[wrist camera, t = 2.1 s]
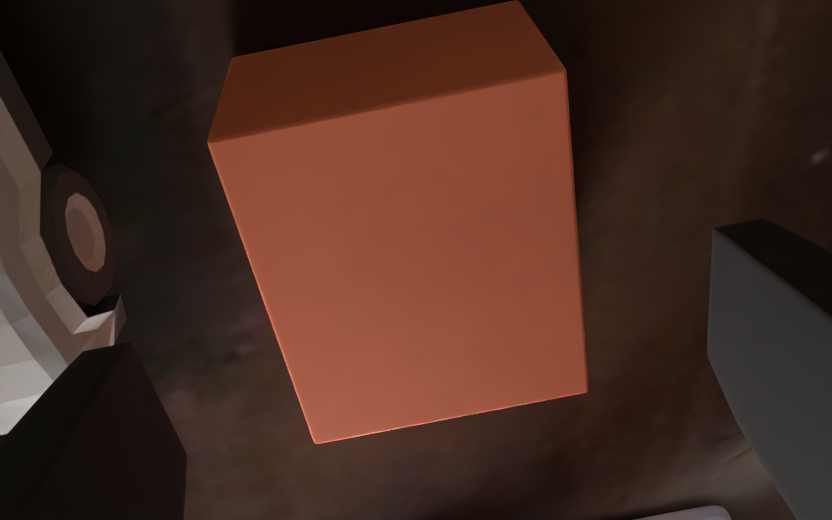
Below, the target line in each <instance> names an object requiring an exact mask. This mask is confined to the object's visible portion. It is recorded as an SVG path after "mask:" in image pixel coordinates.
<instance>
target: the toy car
mask: <svg viewBox="0 0 832 520" xmlns="http://www.w3.org/2000/svg"><path fill="white" fill-rule="evenodd" d="M52 154H53V151H52V149H51V147H50V145H49V143H48V141H47V139H46V138H45V136H44V134H43V132H42V130H41V128H40V126H39V124H38V122H37V120H36V118H35V116H34V114H33V112H32V110H31V109H30V107H29V105H28V103H27V101H26V99H25V97H24V95H23V93H22V91H21V89H20V87H19V85H18V83H17V82H16V80H15V78H14V76H13V74H12V72H11V70H10V68H9V66H8V64H7V62H6V60H5V58H4V56H3V54H2V53H1V51H0V435H4V434H8V433H9V431H10V430H11V429H12V428H13V427H14V426H15V425H16V424H17V422H18V421H19V420H20V419H21V418H22V417H23V416H24V415H25V413H26V412H27V411H28V410H29V409H30V408H31V407H32V405H33V404H34V403H35V402H36V401H37V400H38V399H39V398H40V396H41V395H42V394H43V393H44V392H45V391H46V390H47V389H48V387H49V386H50V385H51V384H52V383H53V382H54V381H55V380H56V379H57V378H58V376H59V375H60V374H61V373H62V372H63V371H64V370H65V369H66V368H67V367H68V366H69V365H70V364H71V363H72V362H73V361H74V360H75V359H76V358H77V357H78V356H79V355H80V354H81V353H82V352H83V351H87V350H92V349H97V348H102V347H107V346H112V345H114V343H115V341H116V339H117V337H118V335H119V333H120V331H121V329H122V327H123V325H124V323H125V321H126V319H127V318H126V314H125V310H124V306H123V302H122V298H121V294H119V295H114V296H110V297H105V298H103V297H104V296H105V295H106V293H107V292H108V291H109V289H110V287H111V286H112V284H113V280H114V273H115V266H116V253H115V246H114V238H113V231H112V228H111V225H110V222H109V220H108V217H107V214H106V211H105V209H104V206H103V203H102V201H101V199H100V198H99V196H98V195H97V193H96V192H95V190H94V189H93V187H92V186H91V184H90V183H89V181H88V180H87V179H86V178H85V177H83V176H81V175H80V174H78V173H76V172H74V171H73V170H71V169H69V168H67V167H66V166H64V165H62V164H60V163H55V164H51V165H46V163H47V162H48V160H49V159H50V157H51V156H52ZM45 165H46V166H45Z"/></svg>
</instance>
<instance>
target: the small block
mask: <svg viewBox="0 0 832 520" xmlns="http://www.w3.org/2000/svg"><path fill="white" fill-rule="evenodd" d="M207 144H208V147H209V149H210V152H211V155H212V158H213V161H214V163H215V166H216V169H217V172H218V175H219V177H220V180H221V183H222V186H223V189H224V191H225V194H226V197H227V200H228V203H229V205H230V208H231V211H232V214H233V217H234V219H235V222H236V225H237V228H238V231H239V233H240V236H241V239H242V242H243V245H244V248H245V250H246V253H247V256H248V259H249V262H250V264H251V267H252V270H253V273H254V276H255V278H256V281H257V284H258V287H259V290H260V292H261V295H262V298H263V301H264V304H265V306H266V309H267V312H268V315H269V318H270V320H271V323H272V326H273V329H274V332H275V335H276V337H277V340H278V343H279V346H280V349H281V351H282V354H283V357H284V360H285V363H286V365H287V368H288V371H289V374H290V377H291V379H292V382H293V385H294V388H295V391H296V393H297V396H298V399H299V402H300V405H301V407H302V410H303V413H304V416H305V419H306V421H307V424H308V427H309V430H310V433H311V436H312V438H313V441H314V443H315V444H320V443H325V442H330V441H336V440H341V439H346V438H351V437H357V436H362V435H367V434H372V433H377V432H383V431H388V430H393V429H398V428H404V427H409V426H414V425H419V424H424V423H430V422H435V421H440V420H445V419H451V418H456V417H461V416H466V415H471V414H477V413H482V412H487V411H492V410H498V409H503V408H508V407H513V406H518V405H524V404H529V403H534V402H539V401H545V400H550V399H555V398H560V397H565V396H571V395H576V394H581V393H586V392H588V389H589V385H588V371H587V357H586V342H585V328H584V314H583V299H582V285H581V271H580V256H579V242H578V228H577V213H576V199H575V185H574V171H573V156H572V142H571V128H570V113H569V99H568V85H567V71H566V69H565V67H564V66H563V64H562V63H561V62H560V60H559V59H558V57H557V56H556V54H555V53H554V51H553V50H552V48H551V47H550V46H549V44H548V43H547V41H546V40H545V38H544V37H543V35H542V34H541V33H540V31H539V30H538V28H537V27H536V25H535V24H534V22H533V21H532V20H531V18H530V17H529V15H528V14H527V12H526V11H525V9H524V8H523V7H522V5H521V4H520V2H519V1H518V0H513V1H509V2H504V3H499V4H494V5H489V6H484V7H479V8H474V9H469V10H464V11H459V12H454V13H449V14H444V15H440V16H435V17H430V18H425V19H420V20H415V21H410V22H405V23H400V24H395V25H390V26H385V27H380V28H376V29H371V30H366V31H361V32H356V33H351V34H346V35H341V36H336V37H331V38H326V39H321V40H316V41H311V42H307V43H302V44H297V45H292V46H287V47H282V48H277V49H272V50H267V51H262V52H257V53H252V54H247V55H242V56H238V57H233V58H232V59H231V62H230V65H229V68H228V72H227V75H226V79H225V82H224V85H223V89H222V92H221V96H220V99H219V102H218V106H217V109H216V113H215V116H214V119H213V123H212V126H211V129H210V133H209V136H208V140H207Z"/></svg>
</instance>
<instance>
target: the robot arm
mask: <svg viewBox="0 0 832 520" xmlns="http://www.w3.org/2000/svg"><path fill="white" fill-rule="evenodd" d="M707 356H708V359H709V361H710V363H711V365H712V368H713V370H714V372H715V375H716V377H717V379H718V382H719V384H720V386H721V389H722V391H723V393H724V395H725V397H726V400H727V402H728V404H729V406H730V408H731V410H732V412H733V415H734V417H735V419H736V421H737V423H738V425H739V427H740V428H741V430H742V432H743V434H744V435H745V437H746V439H747V440H748V442H749V444H750V445H751V447H752V448H753V450H754V452H755V453H756V455H757V457H758V458H759V460H760V461H761V463H762V465H763V466H764V468H765V470H766V471H767V473H768V475H769V476H770V478H771V479H772V481H773V483H774V484H775V486H776V487H777V489H778V491H779V492H780V494H781V496H782V497H783V499H784V500H785V502H786V504H787V505H788V507H789V508H790V510H791V512H792V513H793V515H794V516H795V518H796V520H832V253H831V252H829V251H827V250H825V249H823V248H821V247H819V246H818V245H816V244H814V243H812V242H810V241H808V240H806V239H804V238H802V237H800V236H799V235H797V234H795V233H793V232H791V231H789V230H787V229H785V228H783V227H781V226H779V225H777V224H775V223H772V222H770V221H768V220H766V219H764V218H761V219H756V220H751V221H746V222H740V223H735V224H730V225H725V226H720V227H715V228H713V230H712V252H711V273H710V295H709V317H708V338H707ZM186 464H187V454H186V452H185V450H184V448H183V446H182V444H181V442H180V440H179V438H178V436H177V434H176V432H175V430H174V428H173V425H172V423H171V421H170V419H169V417H168V415H167V413H166V411H165V409H164V407H163V405H162V403H161V401H160V399H159V397H158V395H157V393H156V391H155V389H154V387H153V385H152V383H151V381H150V379H149V377H148V375H147V373H146V371H145V369H144V367H143V365H142V363H141V361H140V359H139V357H138V355H137V353H136V351H135V349H134V347H133V345H132V343H131V342H128V343H123V344H117V345H112V346H107V347H102V348H97V349H92V350H87V351H83V352H82V353H81V354H80V355H79V356H78V357H77V358H76V359H75V360H74V361H73V362H72V363H71V364H70V365H69V366H68V367H67V368H66V369H65V370H64V371H63V372H62V373H61V374H60V375H59V376H58V378H57V379H56V380H55V381H54V382H53V383H52V384H51V385H50V386H49V387H48V389H47V390H46V391H45V392H44V393H43V394H42V395H41V396H40V398H39V399H38V400H37V401H36V402H35V403H34V404H33V405H32V407H31V408H30V409H29V410H28V411H27V412H26V413H25V415H24V416H23V417H22V418H21V419H20V420H19V421H18V422H17V424H16V425H15V426H14V427H13V428H12V429H11V430H10V431H9V433H8V434H7V435H6V436H5V437H4V438H3V439H2V440H1V441H0V520H183V516H184V503H185V486H186ZM634 520H731V518H730V516H729V514H728V512H727V510H725V509H724V508H723V507H720V506H716V505H711V506H703V507H698V508H693V509H687V510H682V511H677V512H671V513H666V514H661V515H655V516H650V517H645V518H639V519H634Z"/></svg>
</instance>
